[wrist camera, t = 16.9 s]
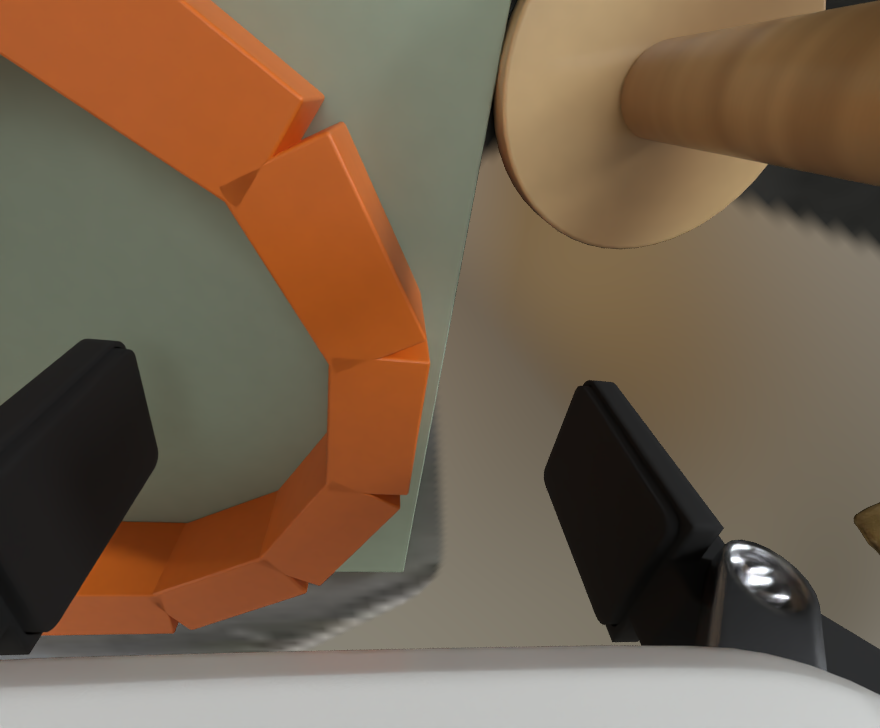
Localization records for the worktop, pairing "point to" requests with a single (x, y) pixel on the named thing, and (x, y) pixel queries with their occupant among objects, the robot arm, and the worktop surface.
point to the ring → (293, 268)
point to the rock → (870, 525)
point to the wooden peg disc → (679, 107)
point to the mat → (241, 246)
